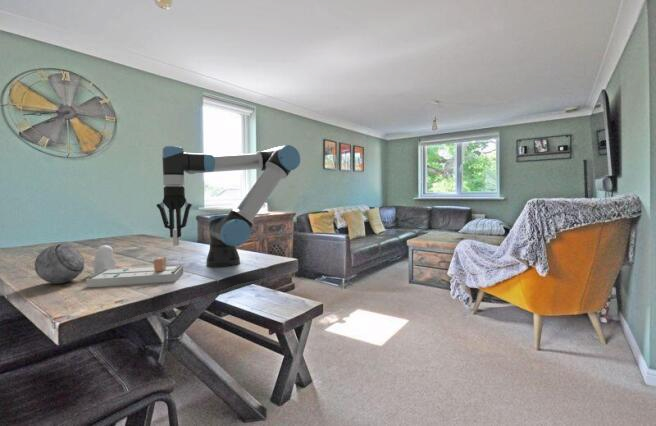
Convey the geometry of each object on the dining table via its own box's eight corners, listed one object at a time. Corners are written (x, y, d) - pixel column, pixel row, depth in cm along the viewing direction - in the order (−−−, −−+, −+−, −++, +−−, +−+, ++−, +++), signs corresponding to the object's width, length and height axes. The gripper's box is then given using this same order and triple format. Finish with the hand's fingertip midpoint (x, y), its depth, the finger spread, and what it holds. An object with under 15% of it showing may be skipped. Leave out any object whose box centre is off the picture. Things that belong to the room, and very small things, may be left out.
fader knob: (166, 268, 134) (165, 256, 134) (162, 271, 129) (162, 258, 129) (158, 268, 133) (157, 256, 133) (154, 271, 128) (153, 259, 128)
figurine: (104, 275, 136) (103, 247, 135) (89, 275, 138) (87, 246, 137) (118, 271, 143) (117, 244, 142) (104, 271, 145) (102, 243, 144)
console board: (183, 272, 140) (183, 264, 139) (175, 281, 126) (175, 271, 126) (103, 277, 133) (103, 268, 133) (86, 287, 120) (86, 277, 119)
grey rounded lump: (70, 287, 121) (67, 246, 120) (25, 289, 118) (22, 248, 117) (92, 276, 135) (90, 240, 134) (52, 278, 133) (50, 241, 132)
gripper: (193, 186, 135) (195, 243, 137) (158, 186, 133) (160, 244, 134) (189, 185, 128) (191, 246, 129) (153, 185, 125) (155, 247, 127)
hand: (176, 245), depth 132 cm, fingers closed
